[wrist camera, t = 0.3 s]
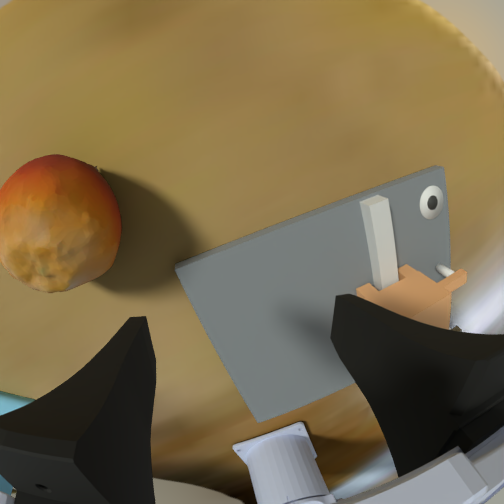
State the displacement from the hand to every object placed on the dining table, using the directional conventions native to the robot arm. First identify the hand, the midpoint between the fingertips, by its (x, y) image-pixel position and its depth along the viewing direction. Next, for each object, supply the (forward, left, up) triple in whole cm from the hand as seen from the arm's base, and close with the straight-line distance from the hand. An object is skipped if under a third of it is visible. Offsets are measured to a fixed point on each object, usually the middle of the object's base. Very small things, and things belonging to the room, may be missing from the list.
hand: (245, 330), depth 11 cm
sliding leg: (-9, -13, -9) cm, 18 cm away
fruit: (+6, +8, -10) cm, 14 cm away
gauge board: (-9, -8, -10) cm, 16 cm away
